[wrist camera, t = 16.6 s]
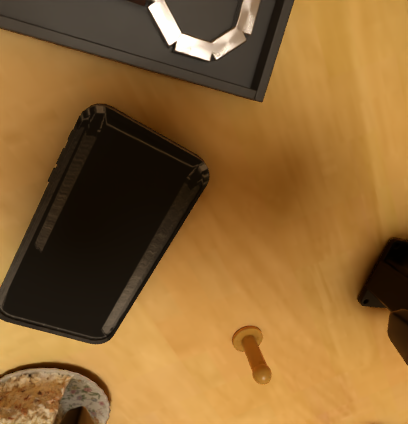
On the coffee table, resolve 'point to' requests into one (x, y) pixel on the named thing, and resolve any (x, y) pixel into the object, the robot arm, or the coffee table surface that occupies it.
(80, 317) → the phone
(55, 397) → the cake
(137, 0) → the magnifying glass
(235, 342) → the peg
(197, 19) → the shallow open black box
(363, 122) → the coffee table surface
